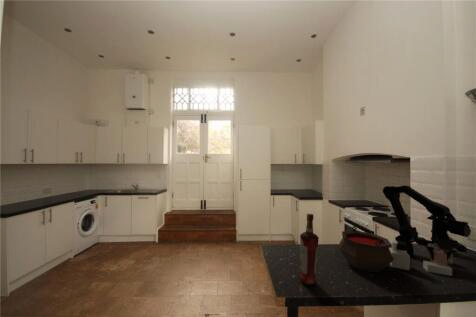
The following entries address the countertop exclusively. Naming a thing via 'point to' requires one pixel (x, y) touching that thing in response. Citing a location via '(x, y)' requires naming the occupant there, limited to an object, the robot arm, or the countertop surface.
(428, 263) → the long grey brick
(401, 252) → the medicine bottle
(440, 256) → the terracotta tall brick
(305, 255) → the liquor
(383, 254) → the brown pot
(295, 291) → the countertop surface
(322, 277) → the countertop surface
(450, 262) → the round birch brick
